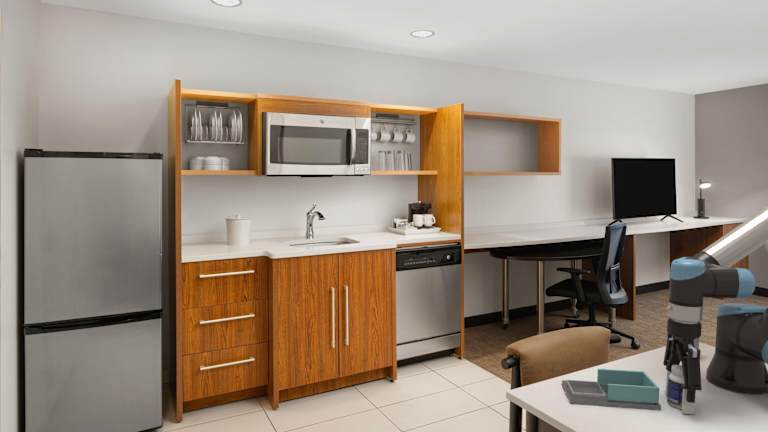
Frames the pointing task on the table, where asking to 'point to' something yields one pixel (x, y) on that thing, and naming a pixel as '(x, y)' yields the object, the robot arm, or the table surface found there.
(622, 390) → the housing
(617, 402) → the plate
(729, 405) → the table surface
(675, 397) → the pill bottle
